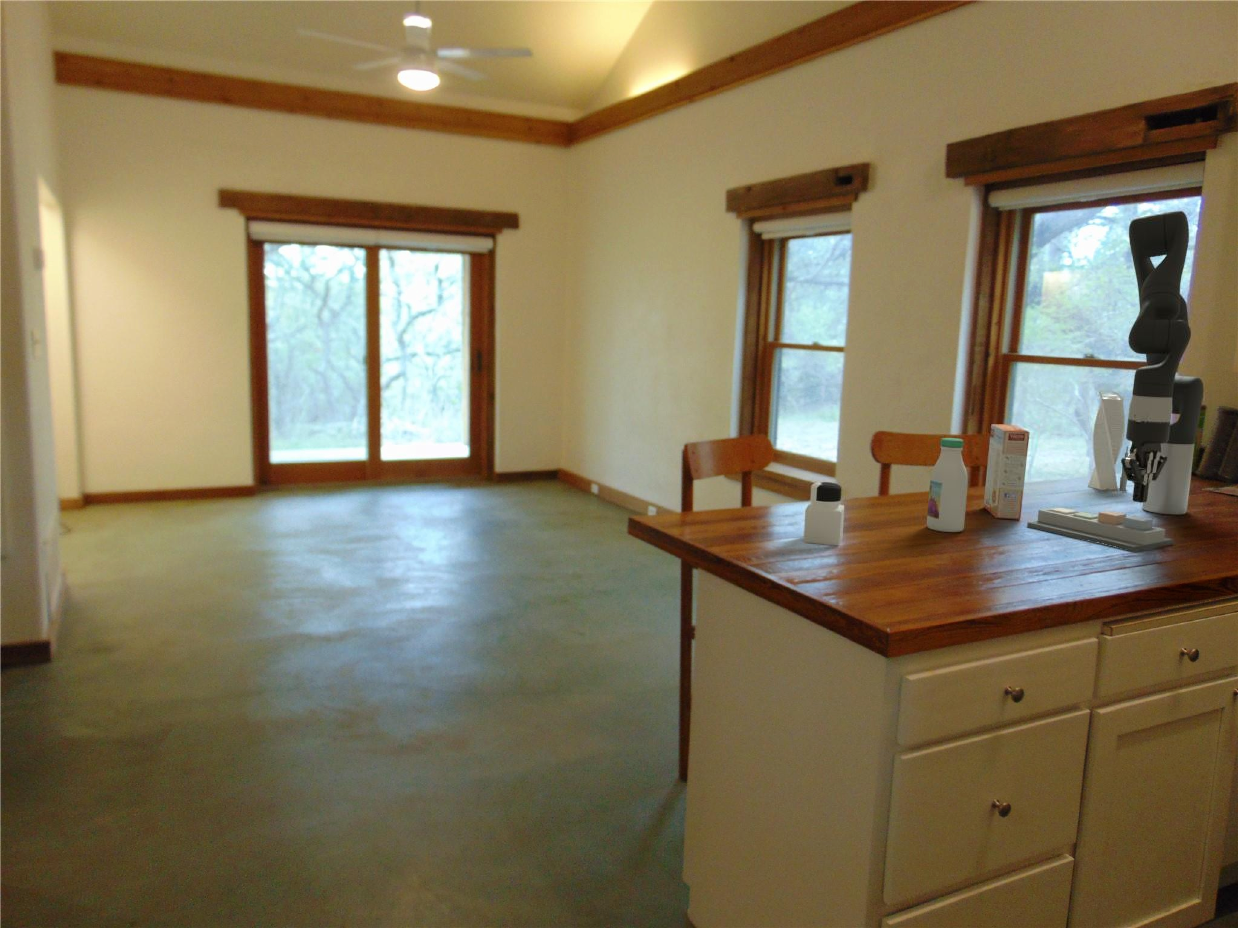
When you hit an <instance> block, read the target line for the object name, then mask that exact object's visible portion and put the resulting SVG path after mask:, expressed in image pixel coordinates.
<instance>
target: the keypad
mask: <svg viewBox="0 0 1238 928" xmlns="http://www.w3.org/2000/svg"><path fill="white" fill-rule="evenodd" d="M1056 508H1060V507H1058V506H1057V507H1050V508H1043V509H1042V508H1041V509H1038V512H1037V513H1038V514H1037V520H1034V521H1027V525H1026V526H1027V527H1028V528H1032V529H1035V528H1036V530H1039V529H1041V530H1040V531H1044V532H1048V531H1049V532H1048V533H1052V532H1054V533H1053V534H1056V533H1057V534H1056V535H1061V534H1062V535H1061V536H1065V535H1067V536H1066V537H1070V538H1073V537H1074V538H1075V539H1078V538H1080V539H1079V540H1082V539H1084V540H1083V541H1086V540H1090V541H1089V542H1091V541H1093V542H1092V543H1095V542H1099V543H1104V544H1107V545H1106V546H1108V545H1111V546H1110V547H1112V546H1116V547H1118V548H1117V549H1120V548H1122V549H1121V550H1125V549H1127V550H1126V551H1130V552H1134V553H1135V552H1139V551H1144V549H1145V550H1150V549H1155V548H1158V547H1159V548H1160V547H1164V546H1169V545H1174V539H1173V538H1168V537H1165V536H1166V529H1165V528H1159V527H1154V526H1152V530H1149V531H1140V530H1135V529H1130V528H1126V527H1123V524H1120V525H1111V524H1107V523H1102V522H1098V519H1093V520H1088V519H1083V518H1079V517H1074V514H1068V515H1064V514H1060V513H1055V512H1050V511H1051V509H1056ZM1076 511H1077V513H1084V512H1083V511H1082V512H1081V511H1078V510H1076ZM1077 513H1075V514H1077ZM1074 538H1073V539H1074ZM1099 543H1098V544H1099ZM1116 547H1115V548H1116Z"/></svg>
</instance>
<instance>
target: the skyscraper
mask: <svg viewBox="0 0 1238 928" xmlns="http://www.w3.org/2000/svg"><path fill="white" fill-rule="evenodd" d="M1104 392H1105V393H1107V392H1108V393H1112V394H1102V393H1104ZM1098 394H1099V398H1100V404H1099V407H1098V410H1097V412H1096V416H1095V420H1094V425H1093V433H1092V451H1093V453H1092V454H1093V460H1094V469H1093V470H1092V474H1091V476H1090V478H1089V482H1088V485H1087V488H1090V489H1093V490H1099V491H1102V492H1105V491H1116V492H1128V490H1127V483H1128V480H1127V477H1126V474H1125V471H1124V468H1123V466H1122V465H1121V466H1122V467H1121V476H1120V477H1119V486H1118V481H1117V475H1116V465H1117V462H1118V459H1119V457H1120V453H1121V450H1122V447H1123V442H1124V438H1125V431H1126V424H1125V423H1126V418H1125V405H1124V401H1125V397H1124V396H1122V395H1121V394H1120V393H1118V392H1116V391H1114V390H1112V389H1111V390H1110V389H1100V390H1099V391H1098ZM1125 451H1126V452H1124V458H1127V457H1128V456H1129V452H1128V451H1129V446H1126V450H1125Z"/></svg>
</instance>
